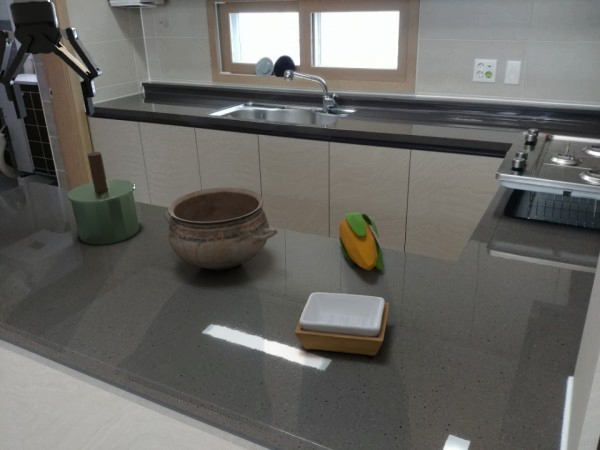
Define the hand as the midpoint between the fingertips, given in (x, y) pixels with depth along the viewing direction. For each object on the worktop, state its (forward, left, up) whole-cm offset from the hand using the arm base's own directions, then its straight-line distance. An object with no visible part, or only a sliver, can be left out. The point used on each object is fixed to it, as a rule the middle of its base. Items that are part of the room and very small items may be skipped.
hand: (56, 116), depth 107 cm
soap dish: (+67, -11, -27) cm, 73 cm away
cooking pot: (+36, +2, -27) cm, 45 cm away
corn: (+60, +14, -27) cm, 67 cm away
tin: (+4, +4, -27) cm, 27 cm away
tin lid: (+4, +4, -17) cm, 18 cm away
